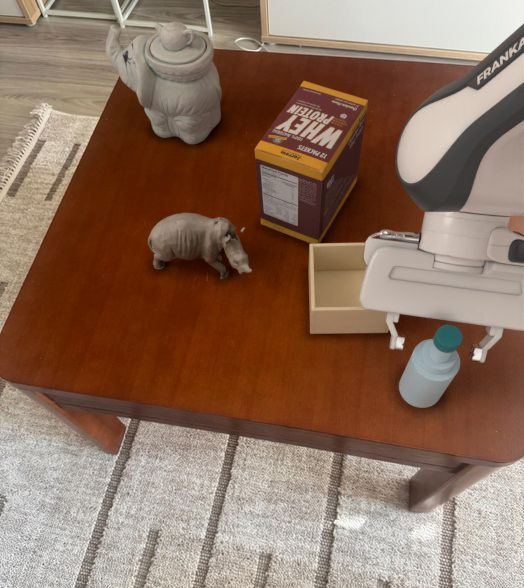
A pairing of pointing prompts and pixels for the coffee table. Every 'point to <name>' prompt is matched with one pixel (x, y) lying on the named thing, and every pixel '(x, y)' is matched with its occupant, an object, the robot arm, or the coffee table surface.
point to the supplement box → (310, 161)
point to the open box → (339, 291)
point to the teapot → (171, 79)
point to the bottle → (431, 368)
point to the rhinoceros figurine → (197, 241)
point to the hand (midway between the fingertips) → (435, 354)
